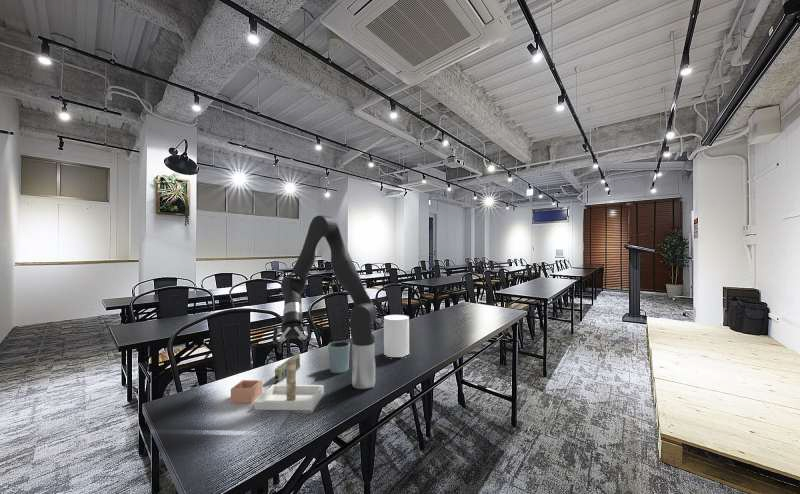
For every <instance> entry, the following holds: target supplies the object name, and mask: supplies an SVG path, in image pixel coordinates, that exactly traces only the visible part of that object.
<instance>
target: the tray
mask: <svg viewBox="0 0 800 494" xmlns="http://www.w3.org/2000/svg"><path fill="white" fill-rule="evenodd" d="M272 384H273V383H272ZM272 384H271V385H272ZM271 385H270V386H271ZM324 393H325V384H296V400H295V401H286V384H278V383H277V384H273V385H272V386H271V387H270V388H269V387H268V388H267V389H266V390H265V391H264V392H262V394H261V395H260V396H259V397H258V398H257V399H256V400H255V401H254V402H253V404H254V405H253V409H254V410H255V411H256V410H260V411H265V410H267V411H290V412H289V413H290V414H313V412H315V410H316V408H317V406H318V405H319V403H320V402H321V400H322V398H323V397H324Z"/></svg>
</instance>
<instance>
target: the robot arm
mask: <svg viewBox="0 0 800 494" xmlns="http://www.w3.org/2000/svg"><path fill="white" fill-rule="evenodd" d="M322 238H325V240H326V242H327V245H328V246H329V250H330V265H331V269H332V272H333V273H334V277H335V278H336V280H337V282H338V284H339V285H340V286H341V287H342V288H343V289H344V290H345V292H346V293H347V294H348V295H349V296H350V298H351V300H352V301H353V305H354V307H353V308H351V311H350V314H349V330H350V331H349V333H350V337H351V341H352V343H351V345H352V347H351V348H352V349H351V351H352V352H351V353H352V354H351V355H352V357H351V359H352V360H351V364H352V365H351V367H352V369H351V374H352V375H351V376H352V377H351V378H352V380H351V383H352V384H351V385H352V387H353V388H354V389H358V390H366V389H367V390H368V389H371V388H375V384H376V357H375V353H376V352H375V351H376V350H375V348H376V347H375V343H376V342H375V340H376V339H375V338H376V337H375V335H374V334H373V333H372V324H373V323H374V322H375V321H376V320H377V316H378V313H377V312H378V311H377V307H375V304H374V303H373V300H372V299H371V298H370V296H369V294H368V292H367V291H366V289H365V286H364V284H363V282H362V279H361V277H360V275H359V273H358V270H357V268H356V266H355V263H354V261H353V260H352V257H351V256H350V255H351V254H350V252H349V249H348V248H347V246H346V244H345V241H344V239H343V235H342V232H341V230H340V228H339V224H338V222H337V220H336V219H335V218H333V217H332V216H327V215H316V216H315V217H313V218H312V220H311V222H310V224H309V227H308V231H307V234H306V237H305V240H304V243H303V246H302V249H301V252H300V254H299V255H298V257H297V259H296V262H295V264H294V266H293V268H292V273H293V274H294V275H295V276H296V277H293V276H290V275H289V276H285V277H283V279H282V280H281V283H280V288H281V289H280V290H281V292H282V295H283V299H284V305H283V306H284V307H283V311H282V312H283V313H282V327H281V328H278V327H277V326H275V327H274V328H273V334H272V335H273V336H272V344H273V345H276V350H277V353H279V354H282V344H283V342H285V341H286V340H287V339H288V340H289V339H297V338H298V339H299V340H301V341H302V352H305V351H306V350H307V343H308V342H310V341H311V340H312V334H311V332H312V331H311V324H307V325H306V326H303V309H302V308H303V307H302V296H301V294H303V293H304V292H305V290H306V285H307V280H308V276H309V273H310V272H311V269H312V268H313V265H314V263H315V260H316V249H317V247H318V244H319V242H320V241H321V240H322ZM297 277H299V278H297ZM303 331H304V332H306V333H307V334H306V335H307V336H305V334H304V333H303ZM280 333H282V334H281V335H280ZM278 335H280V337H279V338H278Z"/></svg>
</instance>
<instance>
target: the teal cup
mask: <svg viewBox="0 0 800 494" xmlns="http://www.w3.org/2000/svg"><path fill="white" fill-rule="evenodd" d="M327 347H328V357H329V371H330V372H331V373H333V374H342V373H346V372H348V371H349V370H350V368H349V367H350V350H351V343H350V342H349V341H345V340H338V341H333V342H332V341H331V342H330V343H328V344H327ZM347 370H348V371H347Z"/></svg>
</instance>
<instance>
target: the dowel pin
mask: <svg viewBox="0 0 800 494" xmlns="http://www.w3.org/2000/svg"><path fill="white" fill-rule="evenodd" d="M287 360H288V359H287ZM287 360H286V361H287ZM296 373H297V371H296V360H288V361H287V367H286V378H285V379H286V381H285V382H286V384H285V385H286V401H295V400H296V385H297V382H296V381H297V378H296V377H297V374H296Z"/></svg>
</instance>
